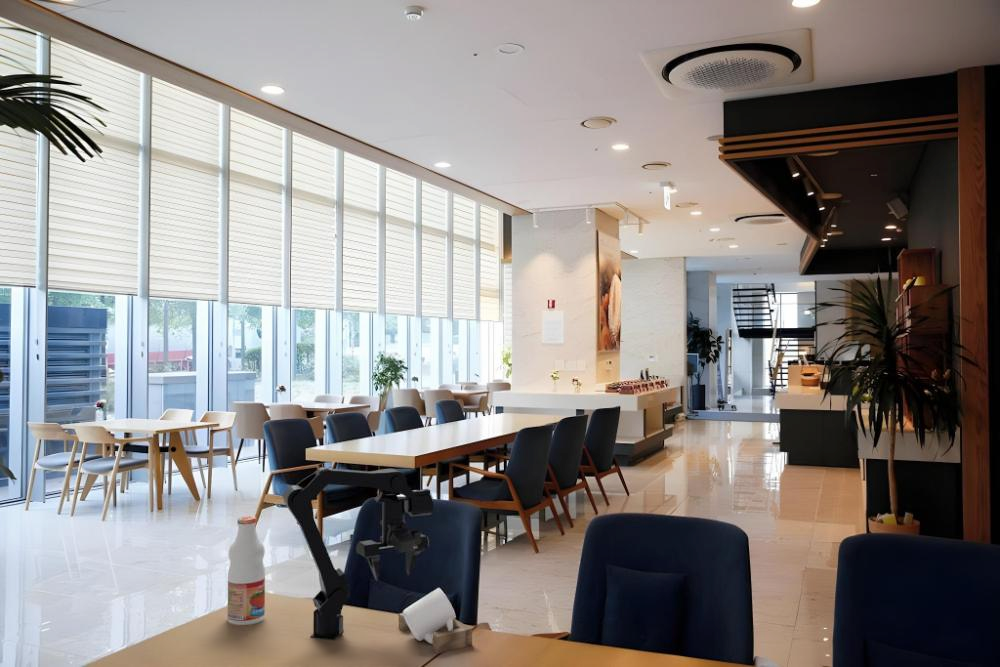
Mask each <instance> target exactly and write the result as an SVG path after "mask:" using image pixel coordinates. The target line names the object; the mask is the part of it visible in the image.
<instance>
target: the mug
mask: <svg viewBox="0 0 1000 667" xmlns="http://www.w3.org/2000/svg"><path fill="white" fill-rule="evenodd" d="M402 613H403V616H404V618H405V621H406V623H407V625H408V627H409V628H410V629H409V630H410V632H411V633H412V635H413V637H414V638H415V639H416V640H417V641H419V642H420V641H423V640H425V641H426V642H427V643H429V644H430V645H433V634H435V632H437V631H438V629H440V628H441V627H443V626H444V625H447V627H448V631H450V630H453V619H456V618H457V617H456V613H455V609H454V607H453V606H452V603H451V602H450V600H449V598H448V597H447V595H446V593H444V591H443V590H442V589H441V588H440V587H437V588H435V589H434V590H433V591H431V592H429V593H428V594H426V595H425V596H423V597H421V598H419V600H417V601H415V602H414V603H411V605H409V606H408V607H406V608H405V609H403V611H402Z"/></svg>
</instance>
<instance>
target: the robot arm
mask: <svg viewBox="0 0 1000 667" xmlns="http://www.w3.org/2000/svg"><path fill="white" fill-rule="evenodd" d="M328 485H333V486H334V485H335V486H349V487H351V486H352V487H363V488H364V487H366V488H373V489H376V490H380V492H379V494H378V495H377V496H375V497H374V500H375V501H376V502H377V503H381V504H382V520H379V521H380V522H379V523H380V524H379V525H380V526H382V531H381V533H382V535H380V537H379V540H380V541H381V542H376V541H374V540H371V539H369V540H364V541H363V540H362V541H358V542H357V544H356V546H355V547H356V548H355V550H356V552H355V553H356V554H358V555H360V556H362V557H364V558H365V559H366V561H367V562H368V564H369V567H370V569H371V572H372V575H373V577H374V579H375V581H377V582H378V581H379V577H380V568H379V567H380V566H379V564H380V563H379V561H380V558H381V555H379V553H380V551H384V550H389V549H390V550H391V549H394V550H395V551H396V552H397V553H400V554H401V553H404V552H405V570H406V575H407V576H411V573H412V570H413V568H414V566H415V562H416V560H417V557H418V555H419V554H421V552H424V551H425V548H426V549H427V548H428V547H430V540H429V537H428V535H424V534H422V532H421V530H419V529H415V530H414V529H413V530H408V524H407V521H405V513H406V514H408V516H410V517H417V516H418V517H419V516H428V515H429V516H430V515H432V514H433V511H434V501H433V498H432V495H431V490H430V489H428V488H423V489H420V490H419V489H417V490H413V489H412V488H411V487H410V486H409V485H408V480H407V475H405V474H404V472H401V471H399V470H397V469H395V468H385V469H378V470H371V471H366V470H355V469H354V470H353V469H352V470H351V469H338V468H327V467H325V466H323V467H318V468H317V470H315V471H314V472H313V473H311V474H310V475H308V476H307V477H305V478H303V479H302V480H300V481H299V482H297V484H296V485H293V484H292V485H290V486H288V487H287V488H286V489H285V491H284V493H283V495H282V499H283V503H284V504H285V506H286V507H287V508H288V510H289V512H290V513H291V515H292V516H293V518H294V519H295V521H296V522H297V524H298V525H299V529H300V531H301V533H302V535H303V538H304V540H305V542H306V545H307V547H308V550H309V552H310V555H311V558H312V559H313V563H314V564H315V567H316V569H317V572H318V582H319V586H320V591H319V592H317V594H316V595H315V596H314V597H313V599H312V602H313V604H314V607H315V608H316V609H315V610H313V620H312V621H313V624H312V625H313V627H312V629H313V631H312V634H311V635H310V638H311V639H319V638H320V639H321V640H331V641H332V640H334V641H335V640H336V639H337V638H338V637H339V636H340V635H342V633H344V631H345V630H344V615H342V610H343V607H344V605H345V604H346V603H347V601H349V598H350V595H351V593H350V589H352V588H351V585H349V583H348V581H347V576H346V574H345V572H344V571H343V570H342V569H341V568H340V567H338V568H336V569H335V567H334V564H333V561H332V559H331V557H330V554H329V552H328V550H327V547H326V544H325V542H324V540H323V537H322V535H321V532H320V530H319V527H318V526H317V523H316V521H315V517H314V516H315V515H314V507H313V502H312V501H313V500H314V499H315V498H316V497H318V496H319V494H320V493H321V492H322V491H323V490H324V489H325V488H326V487H327V486H328ZM383 491H384V492H383ZM385 492H387V493H390V494H385ZM397 494H401V496H397ZM402 495H403V496H402Z"/></svg>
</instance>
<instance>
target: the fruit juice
mask: <svg viewBox="0 0 1000 667" xmlns="http://www.w3.org/2000/svg"><path fill="white" fill-rule="evenodd" d="M257 522H258V519H257V517H256V516H242V517H238V518H237V522H236V523H237V526H238V530H237V534H236V537H235V540H234V541H233V542H232V544H231V545H230V546H229V549H228V558H229V561H230V565H229V568H228V570H227V571H228V572H227V620H226V621H227V622H228V623H229V624H231V625H236V626H239V625H240V626H241V625H242V626H243V625H244V626H246V625H253V624H257V623H261V622H263V621H264V619H266V618H265V614H266V613H265V612H266V611H265V608H266V607H265V606H266V605H265V604H266V602H265V601H266V600H265V599H266V594H265V593H266V568H265V565H264V561H263V560H264V557H265V550H266V549H265V545H264V544H263V542H262V541H261V540H260V539H259V535H258V533H257V529H256V525H257Z"/></svg>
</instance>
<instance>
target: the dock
mask: <svg viewBox="0 0 1000 667" xmlns="http://www.w3.org/2000/svg"><path fill="white" fill-rule="evenodd" d="M398 629H399V630H401V631H407V630H410V628H409V627H408V625H407V623H406V621H405V618H404V616H403V612H401V613H398ZM437 631H438V633H432V639H433V644H432V652H433V653H435V654H441V653H446V652H449V651H455V650H458V649H461V648H465V647H470V646H473V628H472V627H470V626H468V625H466V624H464V622H463V623H462V622H461V621H459V620H457V619H456V618H455V619H453V630H450V631H448V627H447V625H444V626H443V627H441V628H440V629H438V630H437Z"/></svg>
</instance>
